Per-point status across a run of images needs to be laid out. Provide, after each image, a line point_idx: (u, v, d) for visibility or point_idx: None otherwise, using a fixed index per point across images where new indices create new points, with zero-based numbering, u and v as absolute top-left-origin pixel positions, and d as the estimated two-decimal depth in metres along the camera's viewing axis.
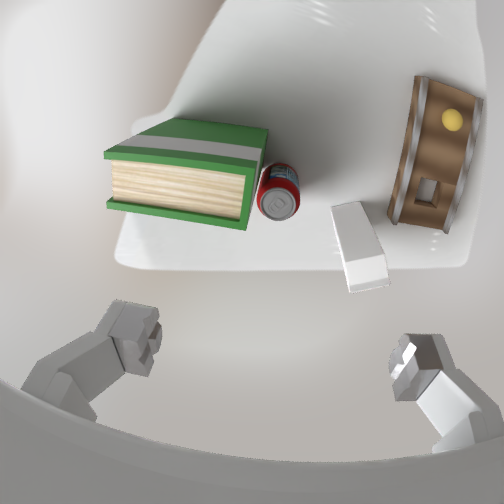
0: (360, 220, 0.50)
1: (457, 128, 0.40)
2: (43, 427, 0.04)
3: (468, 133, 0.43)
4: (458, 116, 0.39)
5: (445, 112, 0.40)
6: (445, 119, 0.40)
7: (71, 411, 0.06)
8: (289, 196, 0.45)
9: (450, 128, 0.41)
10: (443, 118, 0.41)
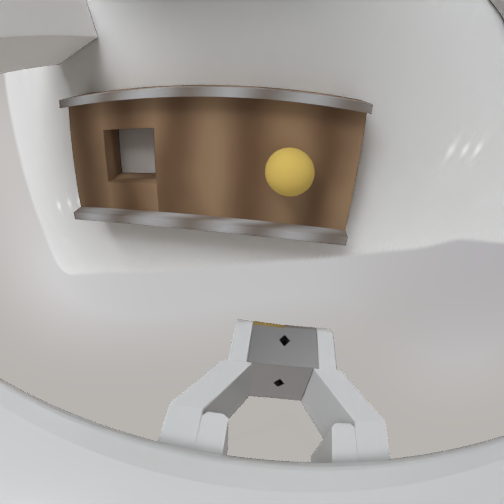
0: (47, 23, 0.15)
1: (274, 182, 0.23)
2: (43, 427, 0.04)
3: (267, 219, 0.29)
4: (302, 181, 0.23)
5: (303, 152, 0.23)
6: (287, 151, 0.23)
7: (224, 453, 0.06)
8: None
9: (270, 166, 0.23)
10: (288, 148, 0.23)
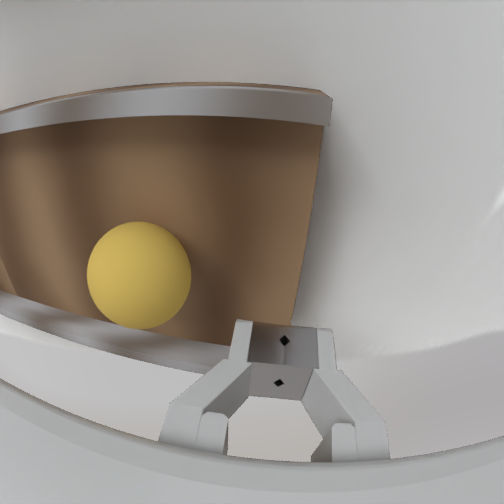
0: None
1: (98, 307, 0.10)
2: (43, 427, 0.04)
3: None
4: (146, 313, 0.10)
5: (153, 239, 0.10)
6: (113, 241, 0.09)
7: (224, 453, 0.06)
8: None
9: (87, 271, 0.10)
10: (122, 230, 0.10)
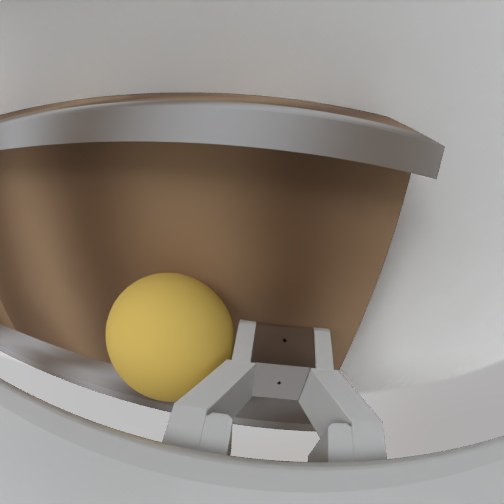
0: None
1: None
2: (43, 427, 0.04)
3: None
4: (177, 393, 0.07)
5: (191, 306, 0.08)
6: (139, 303, 0.08)
7: (228, 453, 0.06)
8: None
9: None
10: (151, 289, 0.08)
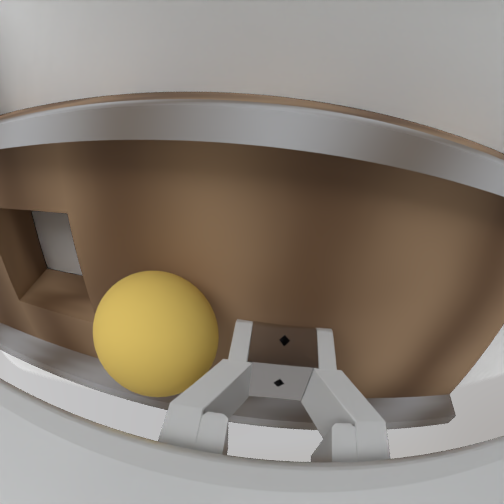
0: None
1: (213, 358, 0.09)
2: (43, 427, 0.04)
3: None
4: None
5: (145, 272, 0.09)
6: (171, 291, 0.08)
7: (224, 453, 0.06)
8: None
9: (199, 350, 0.08)
10: (151, 291, 0.08)
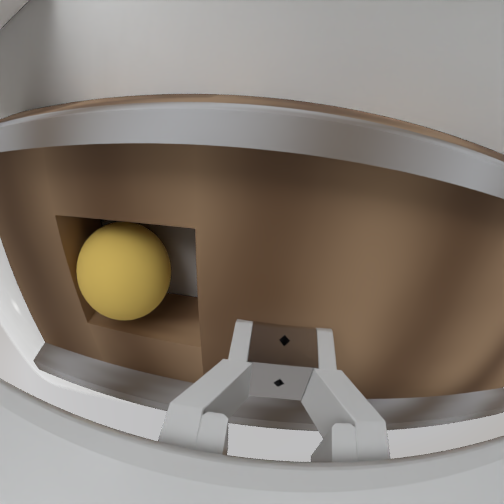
0: None
1: None
2: (43, 427, 0.04)
3: (414, 395, 0.13)
4: None
5: (94, 240, 0.10)
6: (116, 222, 0.11)
7: (224, 453, 0.06)
8: None
9: None
10: (120, 225, 0.11)
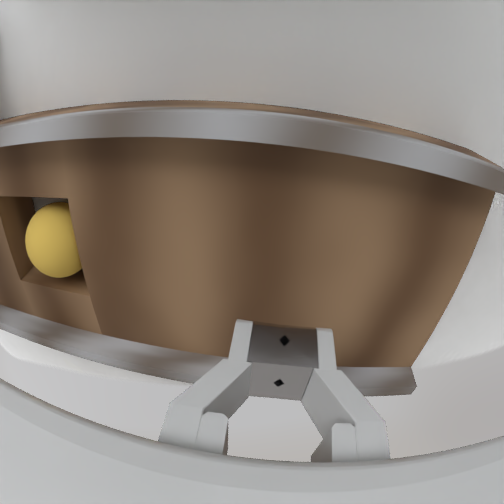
0: None
1: None
2: (43, 427, 0.04)
3: None
4: None
5: (42, 217, 0.12)
6: None
7: (224, 453, 0.06)
8: None
9: None
10: (52, 204, 0.13)
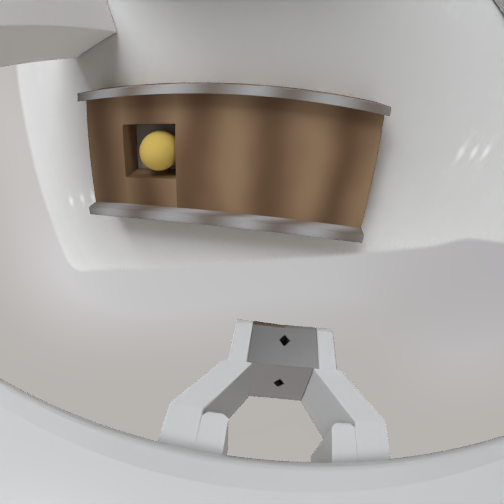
0: (69, 15, 0.16)
1: None
2: (43, 427, 0.04)
3: (286, 216, 0.29)
4: (140, 154, 0.27)
5: (155, 135, 0.26)
6: None
7: (224, 453, 0.06)
8: None
9: None
10: None
